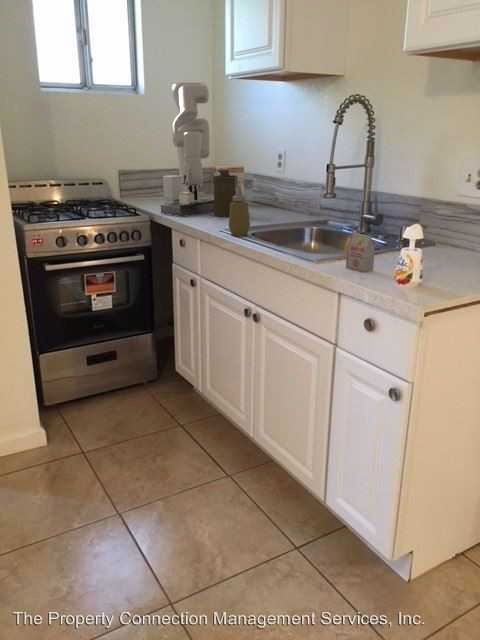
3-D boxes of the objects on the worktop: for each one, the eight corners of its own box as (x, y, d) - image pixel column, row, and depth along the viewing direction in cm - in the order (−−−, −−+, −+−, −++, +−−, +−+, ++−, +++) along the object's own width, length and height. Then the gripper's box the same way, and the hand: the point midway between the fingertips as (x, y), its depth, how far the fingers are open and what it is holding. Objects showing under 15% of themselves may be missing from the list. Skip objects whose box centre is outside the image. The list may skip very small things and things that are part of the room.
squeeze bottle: (248, 237, 200) (248, 187, 194) (226, 236, 201) (225, 186, 195) (251, 233, 207) (251, 184, 201) (230, 232, 209) (230, 184, 203)
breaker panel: (198, 208, 273) (198, 197, 272) (218, 210, 264) (218, 199, 262) (161, 213, 257) (160, 202, 255) (180, 216, 248) (180, 205, 246)
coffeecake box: (243, 204, 286) (243, 165, 280) (244, 205, 280) (244, 166, 273) (215, 204, 286) (214, 165, 280) (215, 206, 279) (214, 166, 273)
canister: (216, 217, 244) (215, 171, 238) (212, 214, 254) (210, 169, 247) (239, 216, 247) (239, 170, 240) (234, 213, 256) (234, 169, 250)
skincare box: (172, 208, 272) (171, 176, 267) (163, 207, 276) (161, 176, 271) (184, 206, 278) (183, 175, 273) (175, 205, 282) (173, 174, 277)
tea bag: (354, 266, 158) (357, 231, 155) (373, 270, 153) (375, 235, 150) (346, 268, 156) (348, 233, 153) (364, 272, 151) (366, 236, 148)
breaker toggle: (185, 202, 261) (185, 191, 260) (194, 203, 257) (194, 192, 256) (179, 203, 258) (178, 192, 257) (187, 204, 254) (187, 193, 253)
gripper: (198, 158, 262) (200, 197, 268) (175, 160, 252) (176, 200, 258) (209, 159, 257) (210, 198, 263) (185, 160, 247) (187, 202, 253)
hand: (194, 199), depth 260 cm, fingers closed
